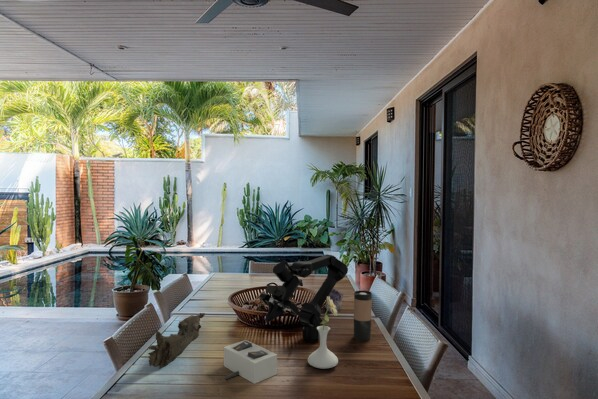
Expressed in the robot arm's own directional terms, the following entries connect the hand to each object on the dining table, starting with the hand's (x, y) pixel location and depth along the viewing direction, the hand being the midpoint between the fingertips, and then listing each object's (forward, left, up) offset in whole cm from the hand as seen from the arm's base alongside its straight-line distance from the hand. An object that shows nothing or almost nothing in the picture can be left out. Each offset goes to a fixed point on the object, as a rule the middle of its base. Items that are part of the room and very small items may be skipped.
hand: (266, 321), depth 153 cm
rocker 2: (+1, +15, -7) cm, 16 cm away
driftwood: (+35, -3, -14) cm, 38 cm away
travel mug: (-38, -24, -14) cm, 47 cm away
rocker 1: (+7, +9, -7) cm, 13 cm away
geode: (-26, -68, -14) cm, 74 cm away
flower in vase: (-22, +4, -14) cm, 27 cm away
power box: (+6, +14, -14) cm, 20 cm away
